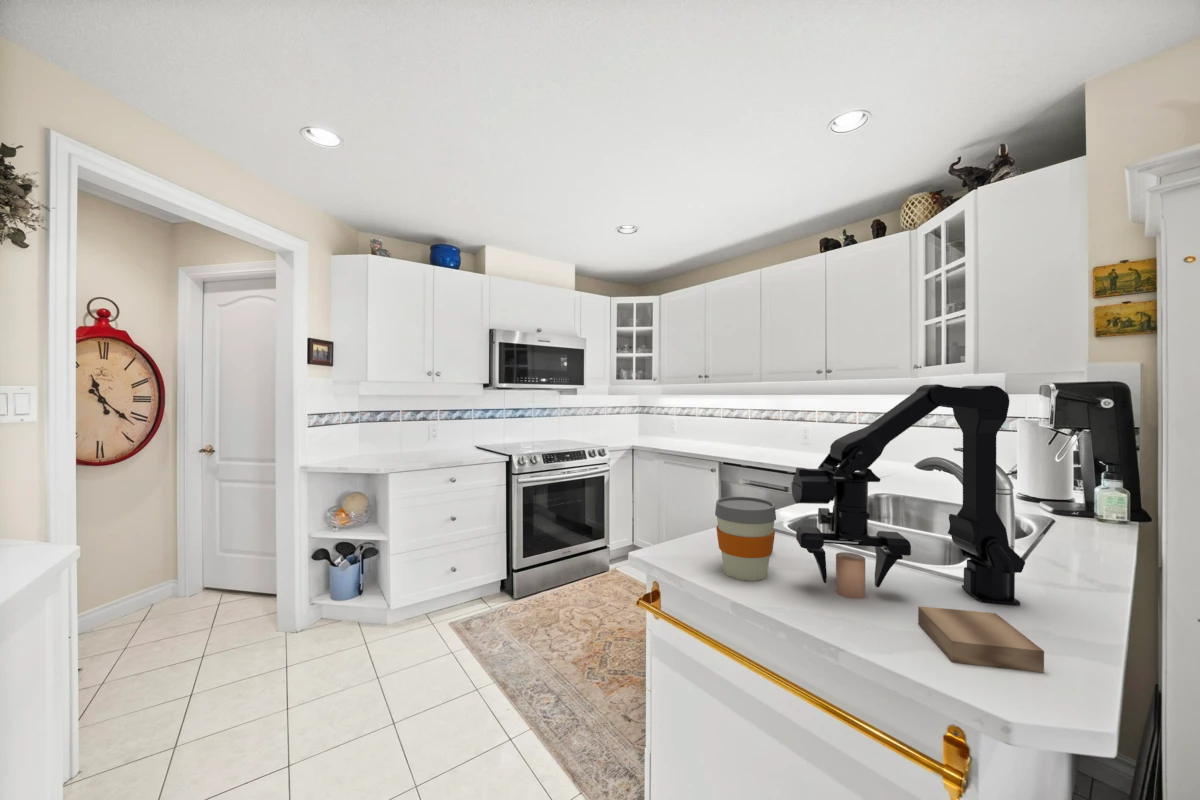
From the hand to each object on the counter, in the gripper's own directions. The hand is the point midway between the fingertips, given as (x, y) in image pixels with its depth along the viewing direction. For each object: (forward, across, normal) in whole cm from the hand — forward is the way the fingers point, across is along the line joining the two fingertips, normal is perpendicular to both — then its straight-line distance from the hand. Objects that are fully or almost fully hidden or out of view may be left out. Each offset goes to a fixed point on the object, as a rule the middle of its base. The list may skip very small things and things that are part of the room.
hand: (850, 584), depth 88 cm
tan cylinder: (+2, 0, 0) cm, 2 cm away
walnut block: (+2, -13, +16) cm, 21 cm away
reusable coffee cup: (+2, +19, -6) cm, 20 cm away
